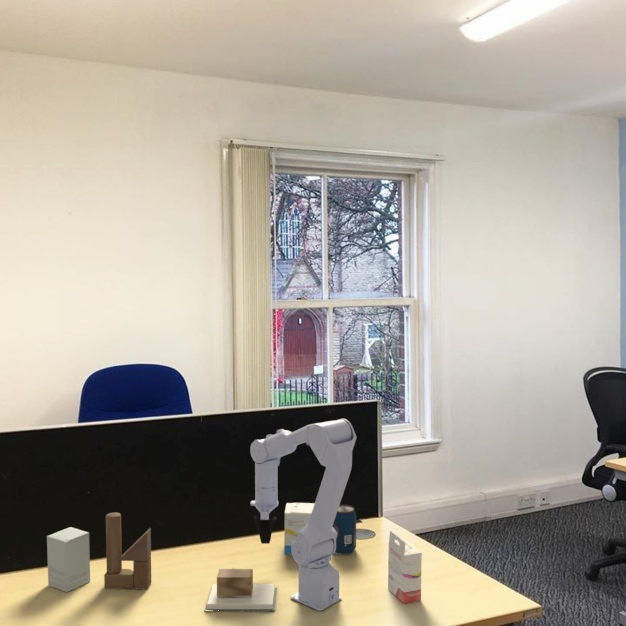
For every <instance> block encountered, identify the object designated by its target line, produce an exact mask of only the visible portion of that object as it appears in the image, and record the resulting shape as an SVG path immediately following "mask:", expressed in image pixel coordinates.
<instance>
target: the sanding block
mask: <svg viewBox="0 0 626 626" xmlns="http://www.w3.org/2000/svg"><path fill="white" fill-rule="evenodd" d="M216 584H217V598H251V597H252V591H253V584H254V569H253V568H219V569H218V573H217V575H216Z"/></svg>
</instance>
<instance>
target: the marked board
mask: <svg viewBox="0 0 626 626" xmlns="http://www.w3.org/2000/svg"><path fill="white" fill-rule="evenodd" d="M275 586H276V583H253V591H252V597H251V598H217V583H213V584H212V586H211V588H210V591H209V595H208V598H207V601H206V605H205V608H204V611H205V610H213V611H218V610H219V611H250V613H251V612H252V611H256V612H255V613H257V611H276V603H277V602H276V601H277V593H278V587H275Z"/></svg>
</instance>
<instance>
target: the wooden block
mask: <svg viewBox="0 0 626 626" xmlns="http://www.w3.org/2000/svg"><path fill="white" fill-rule="evenodd" d="M151 530H152V529H151V527H149V528H148V529H147V530H146V531H145V532H144V533H143V534H142V535H141V536H140V537H139V538H138V539H137V540H136V541H135V542H134V543H133V544H132V545H131V546H129V548H127V550H126V551H125V552H124V553H122V514H121V513H120V512H116V511H115V512H109V513H107V514H106V515H105V545H106V546H105V550H106V553H105V554H106V572H105V573H104V575H103V577H104V578H103V579H104V581H103V583H104V589H121V590H123V589H125V590H127V589H128V590H133V589H134V590H149V588H150V586H151V584H152V538H151V537H152V536H151V535H152V531H151ZM123 561H125V562H126V561H127V562H132V563H133V568H132V569H133V570H132V569H130V568H123V566H122V565H123V563H122V562H123Z"/></svg>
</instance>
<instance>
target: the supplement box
mask: <svg viewBox="0 0 626 626" xmlns="http://www.w3.org/2000/svg"><path fill="white" fill-rule="evenodd" d="M46 548H47V550H46V551H47V553H46V554H47V582H48V583H47V584H48V586H49V587H51V588H54V589H58V590H60V591H63V592H65V593H68V592H70V591H72V590H75V589H77V588H79V587H82V586H83V585H84V586H85V585H86V584H87V583H90V582H91V563H90V562H91V559H90V532H89V531H85V530H81V529H79V528H76V527H72V526H70V527H67V528H64V529H62V530H59V531H56V532H54V533H52V534H49V535H46Z"/></svg>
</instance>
